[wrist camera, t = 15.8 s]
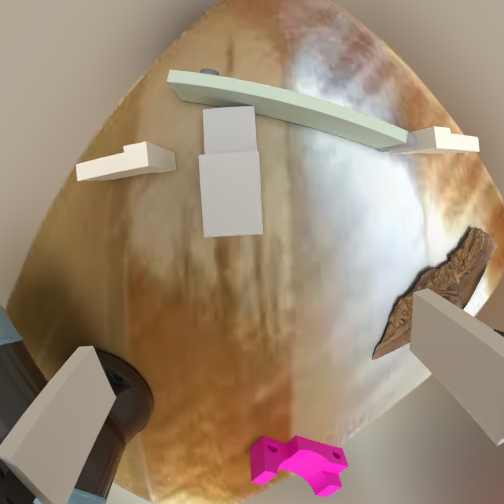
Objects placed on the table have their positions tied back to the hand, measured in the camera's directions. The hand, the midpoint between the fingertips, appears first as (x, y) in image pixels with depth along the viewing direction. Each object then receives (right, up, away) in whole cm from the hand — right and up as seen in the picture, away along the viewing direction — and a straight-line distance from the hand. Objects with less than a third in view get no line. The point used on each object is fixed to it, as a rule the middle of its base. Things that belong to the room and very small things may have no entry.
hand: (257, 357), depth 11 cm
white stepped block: (-2, +13, +21) cm, 25 cm away
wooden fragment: (+23, +2, +26) cm, 34 cm away
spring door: (+4, +19, +19) cm, 27 cm away
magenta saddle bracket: (+8, -29, +31) cm, 43 cm away
